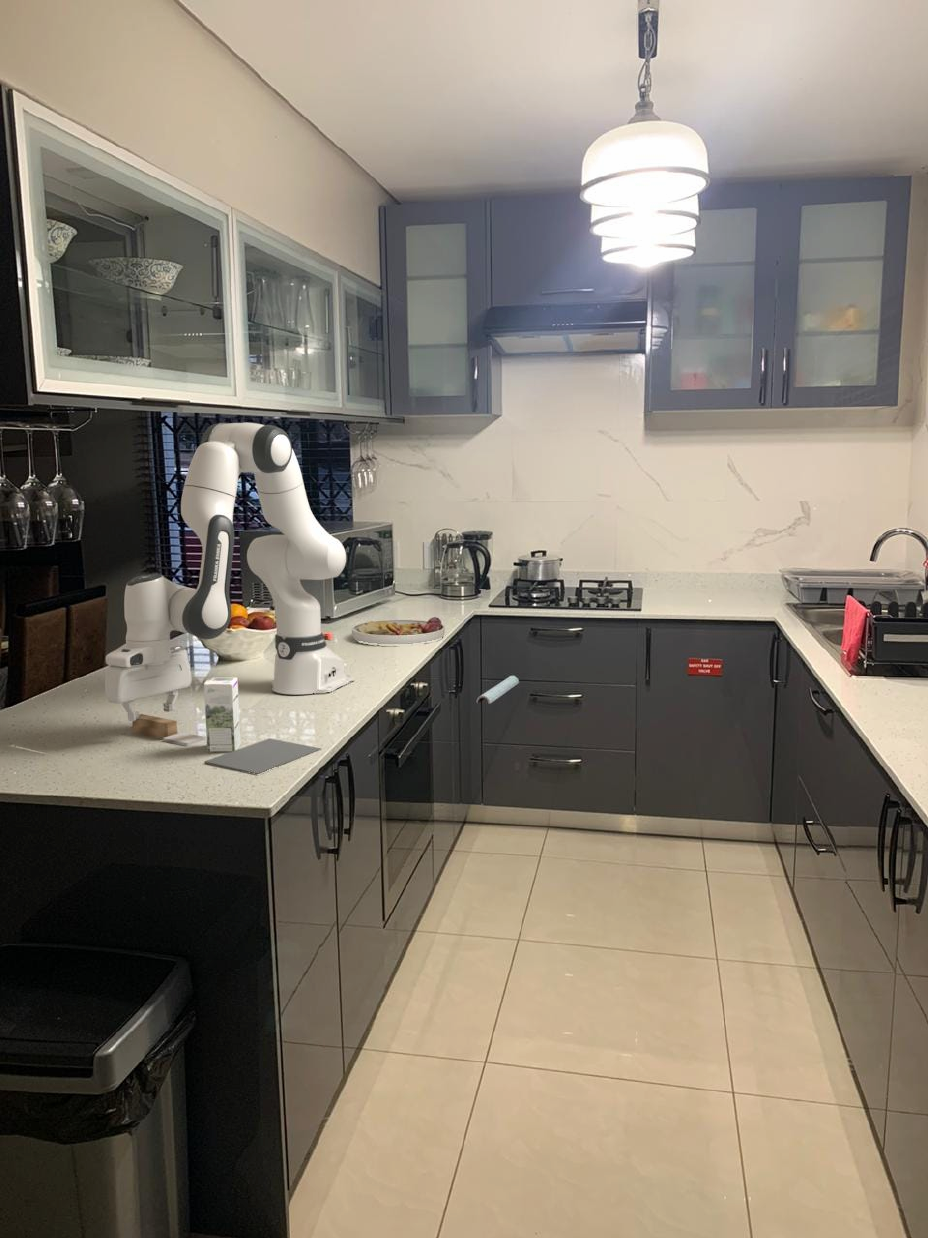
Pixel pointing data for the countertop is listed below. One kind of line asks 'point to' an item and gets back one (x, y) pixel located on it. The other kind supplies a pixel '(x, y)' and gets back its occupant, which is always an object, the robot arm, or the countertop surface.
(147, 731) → the tan wooden bar
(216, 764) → the mat
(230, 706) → the syrup box
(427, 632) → the plate of food
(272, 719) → the countertop surface
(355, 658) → the countertop surface
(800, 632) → the countertop surface
